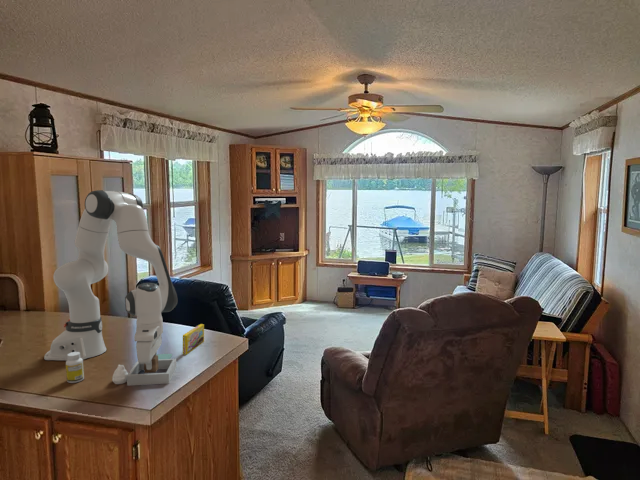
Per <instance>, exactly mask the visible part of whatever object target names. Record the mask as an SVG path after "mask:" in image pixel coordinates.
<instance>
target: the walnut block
mask: <svg viewBox="0 0 640 480" xmlns="http://www.w3.org/2000/svg"><path fill="white" fill-rule="evenodd" d="M151 361H152V369H151V370H147V369H146V364H144V370H143V374H150V373H158V372H157V371H159V369H158V355H154V356H153V358H152V360H151Z"/></svg>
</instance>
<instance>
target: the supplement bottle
mask: <svg viewBox="0 0 640 480" xmlns="http://www.w3.org/2000/svg"><path fill="white" fill-rule="evenodd" d="M67 358H68V360H65V372H66V381H67V383H70V384H75V383H76V384H77V383H80V382H82V381H83V380H84V379H85V370H84V368H85V367H84V360H83V359H82V358H80V352H72V353H69V354H67Z"/></svg>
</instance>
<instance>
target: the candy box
mask: <svg viewBox="0 0 640 480" xmlns="http://www.w3.org/2000/svg"><path fill="white" fill-rule="evenodd" d="M204 342H205V324H203V323H200V324H198V325H196V326H195V327H193V328H192V329H191V330H189V331H187V332H186V333H183V334H182V355H185V356H187V355H188V354H189V353H191V352H192V351H194V350H195V349H196V348H197V347H199V346H200V345H202V344H203V343H204Z"/></svg>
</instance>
